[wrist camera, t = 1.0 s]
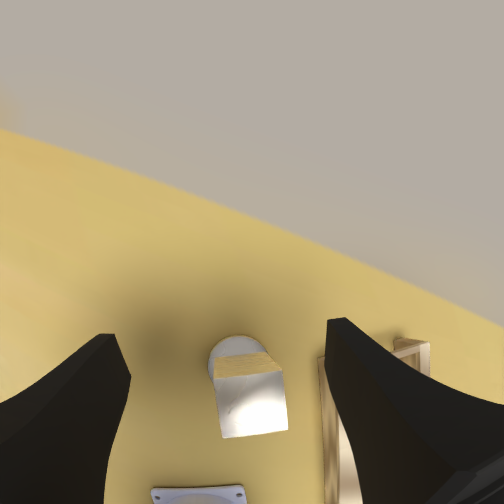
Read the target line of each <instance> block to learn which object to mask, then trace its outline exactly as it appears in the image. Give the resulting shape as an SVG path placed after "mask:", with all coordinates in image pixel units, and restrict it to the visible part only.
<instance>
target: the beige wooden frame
mask: <svg viewBox="0 0 504 504" xmlns="http://www.w3.org/2000/svg"><path fill="white" fill-rule="evenodd" d="M390 353H391V354H393V355H394V356H396V357H397V358H399V359H400V360H402V361H403V362H405V363H406V364H408V365H409V366H411V367H412V368H414V369H416V370H417V371H419V372H421V373H423V374H424V375H426V376H428V377H430V342H427V341H420V340H414V339H408V338H401V339H397V340H394V351H391V352H390ZM324 359H325V357H321V358H318V369H319V381H320V394H321V408H322V424H323V444H324V469H325V504H363V502H362V495H361V490H360V485H359V480H358V475H357V470H356V466H355V461H354V457H353V453H352V450H351V446H350V443H349V440H348V437H347V435H346V432H345V429H344V427H343V424H342V422H341V419H340V416H339V414H338V411H337V408H336V406H335V403H334V400H333V398H332V395H331V392H330V389H329V385H328V381H327V377H326V372H325V368H324Z"/></svg>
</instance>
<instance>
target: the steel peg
mask: <svg viewBox="0 0 504 504" xmlns="http://www.w3.org/2000/svg"><path fill="white" fill-rule="evenodd" d="M208 372H209V376H210V378H211V380H212V382H213V383H214V389H215V395H216V402H217V408H218V414H219V420H220V426H221V432H222V438H232V437H241V436H249V435H256V434H263V433H269V432H275V431H281V430H287V429H288V422H287V412H286V402H285V392H284V383H283V373H282V369H281V368H280V367H279V366H278V365H277V364H276V363H275V362H274V361H273V360H272V358H271V357H270V356H269V355H268V353H267V351H266V350H265V348H264V347H263V346H262V345H261V344H260V343H259V342H258V341H256V340H255V339H253V338H251V337H248V336H244V335H233V336H229V337H226V338H224V339H222V340H221V341H219V342H218V343H217V344H216V345H215V346H214V348H213V349H212V351H211V353H210V356H209V361H208Z"/></svg>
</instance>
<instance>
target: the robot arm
mask: <svg viewBox="0 0 504 504" xmlns="http://www.w3.org/2000/svg"><path fill="white" fill-rule="evenodd" d="M324 368H325V372H326V377H327V381H328V385H329V389H330V392H331V395H332V398H333V400H334V403H335V406H336V408H337V411H338V414H339V416H340V419H341V422H342V424H343V427H344V429H345V432H346V435H347V437H348V440H349V443H350V446H351V450H352V453H353V457H354V461H355V466H356V470H357V475H358V480H359V485H360V490H361V495H362V502H363V504H504V405H502V404H497V403H494V402H490V401H486V400H483V399H480V398H476V397H474V396H471V395H468V394H465V393H463V392H460V391H458V390H455V389H453V388H450V387H448V386H446V385H444V384H442V383H440V382H437V381H436V380H434V379H432V378H430V377H428V376H426V375H424V374H423V373H421V372H419V371H417V370H416V369H414V368H412V367H411V366H409V365H408V364H406V363H405V362H403V361H402V360H400V359H399V358H397V357H396V356H394V355H393V354H391V353H390V352H389V351H387V350H386V349H385V348H383V347H382V346H381V345H379V344H378V343H377V342H375V341H374V340H373V339H372V338H370V337H369V336H368V335H367V334H365V333H364V332H363V331H362V330H360V329H359V328H358V327H357V326H356V325H354V324H353V323H352V322H351V321H349V320H348V319H347V318H345V317H343V318H336V319H329V320H327V333H326V347H325V359H324ZM130 382H131V374H130V372H129V370H128V367H127V365H126V363H125V360H124V358H123V355H122V353H121V350H120V348H119V345H118V343H117V340H116V337H115V335H114V334H99V335H97V336H95V337H94V338H93V339H91V340H90V341H89V342H87V343H86V344H85V345H83V346H82V347H81V348H80V349H78V350H77V351H76V352H75V353H73V354H72V355H71V356H70V357H68V358H67V359H66V360H65V361H63V362H62V363H61V364H60V365H58V366H57V367H56V368H54V369H53V370H52V371H50V372H49V373H48V374H46V375H45V376H44V377H42V378H41V379H40V380H38V381H37V382H36V383H34V384H33V385H31V386H30V387H28V388H27V389H25V390H23V391H22V392H20V393H18V394H17V395H15V396H13V397H12V398H10V399H8V400H6V401H4V402H2V403H0V504H104V490H105V480H106V473H107V466H108V460H109V456H110V452H111V448H112V445H113V442H114V438H115V435H116V432H117V429H118V426H119V423H120V420H121V417H122V414H123V411H124V408H125V405H126V402H127V397H128V393H129V387H130ZM150 493H151V496H152V499H153V502H154V504H247V500H246V495H245V489H244V487H243V486H241V485H232V486H221V487H206V488H153V489H152V490H151V492H150ZM238 493H241V495H237V494H238ZM156 496H159V497H160V498H157V497H156Z"/></svg>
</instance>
